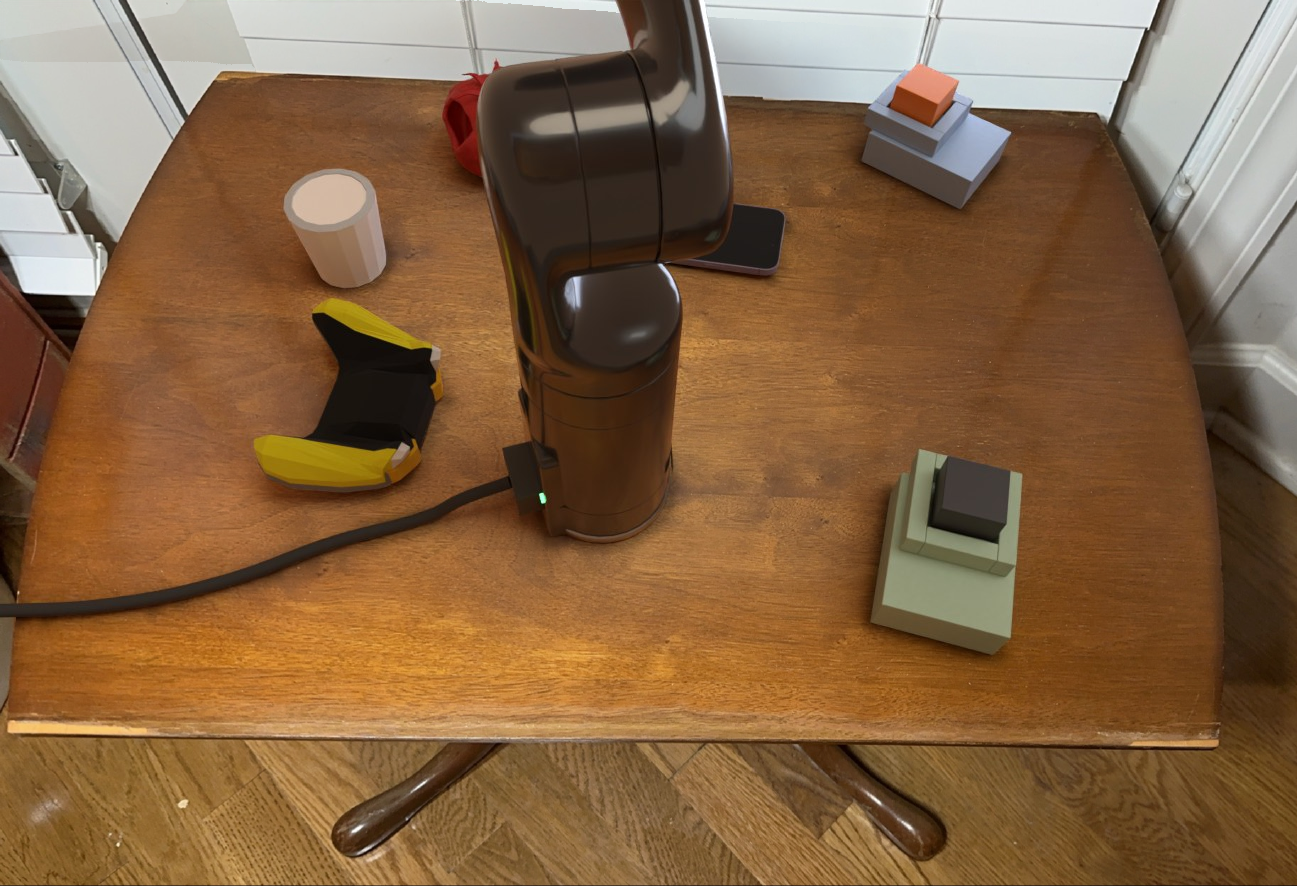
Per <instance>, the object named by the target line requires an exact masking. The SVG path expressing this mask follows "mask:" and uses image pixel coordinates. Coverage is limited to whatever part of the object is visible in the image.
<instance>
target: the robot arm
mask: <svg viewBox="0 0 1297 886" xmlns="http://www.w3.org/2000/svg"><path fill="white" fill-rule="evenodd" d="M614 1H615V4H616V7H617V9H618V12H619V14H620V16H621V17H620V18H621V21H622V23H623V26H624V29H625V33H626V36H627V40H628V41H627V42H628V44H629V49H626V50H617V51H616V50H615V51H609V52H600V53H592V54H585V55H577V56H569V57H560V58H555V59H545V60H539V61H537V60H536V61H529V62H521V63H515V64H510V65H505V66H501V68H498V69H496V70H495V71H493V70H492V71H493V72H492V71H491V72H490V73H491V74H490V73H489V74H490V75H489V76H488V77H487V78H486V80H485V82H484V84H483V86H482V88H481V92H480V95H479V98H478V103H477V111H476V134H477V145H478V156H479V163H480V169H481V174H482V177H481V178H482V182H483V183H482V184H483V187H484V192H485V197H486V201H487V205H488V206H487V207H488V209H489V214H490V218H491V222H492V227H493V230H494V234H495V239H496V242H497V243H496V244H497V248H498V251H499V256H500V260H501V264H502V269H503V273H504V278H505V284H506V285H505V286H506V291H507V298H508V304H509V305H508V306H509V311H510V312H509V314H510V322H511V328H512V329H511V330H512V337H513V344H514V350H515V356H516V357H515V358H516V362H517V369H518V376H519V381H520V388H519V389H518V390H517V397H518V403H519V409H520V415H521V416H520V417H521V421H522V428H523V434H524V442H519V443H516V444H512V445H508V446H504V447H502V455H503V459H504V464H505V465H504V466H505V469H506V472H507V475H506V476H504V477H501V478H498V479H494V480H492V481H489V482H486V483H482V484H479V485H477V486H474V487H472V488H469V489H465V490H464V491H461V492H459V493H457V494H454V495H452V496H450V497H449V498H447V499H446V500H444V501H442V502H441V503H439V504H437V505H434V506H433V507H430V508H427V509H425V510H422V511H419V512H416V513H413V514H410V515H406V516H403V517H399V518H395V519H392V520H388V521H384V522H380V523H379V522H378V523H375V524H371V525H367V526H363V527H359V528H355V529H352V530H351V529H350V530H347V531H343V532H340V533H337V534H334V535H330V536H327V537H323V538H321V539H319V540H316V541H313V542H309V543H307V544H304V545H302V546H299V547H296V548H294V549H292V550H288V551H286V552H284V553H281V554H278V555H276V556H273V557H270V558H268V559H266V560H263V561H260V562H258V563H255V564H253V565H249V566H246V567H243V568H240V569H237V570H234V571H230V572H227V573H223V574H220V575H217V576H212V577H209V578H206V579H202V580H198V581H194V582H190V583H186V584H182V585H178V586H177V585H176V586H173V587H169V588H164V589H163V588H162V589H158V590H153V591H146V592H142V593H141V592H140V593H134V594H128V595H121V596H114V597H106V598H96V599H88V600H86V599H85V600H75V601H72V600H71V601H57V602H22V603H21V602H19V603H18V602H17V603H15V602H13V603H0V618H1V619H2V618H38V617H64V616H65V617H66V616H80V615H91V614H101V613H110V612H117V611H124V610H131V609H138V608H143V607H145V608H146V607H150V606H155V605H161V604H166V603H170V602H176V601H179V600H184V599H188V598H192V597H193V598H194V597H197V596H201V595H204V594H208V593H212V592H216V591H220V590H223V589H228V588H230V587H233V586H237V585H239V584H240V585H241V584H242V583H243V584H244V583H246V582H249V581H252V580H255V579H258V578H260V577H263V576H266V575H268V574H271V573H274V572H276V571H279V570H281V569H284V568H286V567H289V566H292V565H293V564H296V563H298V562H299V563H300V562H301V561H304V560H307V559H310V558H312V557H314V556H318V555H321V554H323V553H326V552H329V551H332V550H335V549H338V548H342V547H345V546H348V545H352V544H357V543H359V542H363V541H367V540H371V539H376V538H380V537H384V536H389V535H391V534H396V533H399V532H403V531H407V530H411V529H413V528H417V527H419V526H423V525H426V524H429V523H431V522H434V521H436V520H437V521H438V520H439V519H442V518H443V517H445V516H447V515H449V514H451V513H452V512H453V511H455V510H457V509H459V508H461V507H464V506H466V505H468V504H471V503H473V502H476V501H479V500H481V499H485V498H487V497H490V496H493V495H496V494H500V493H503V492H505V491H508V490H512V495H513V498H514V502H515V505H516V509H517V512H518V516H524V515H527V514H528V515H529V514H532V513H535V512H541V511H542V514H543V518H544V521H545V526H546V528H547V532H548V535H549V536H550V537H558V536H561V535H568V536H570V537H572V538H574V539H577V540H580V541H584V542H590V543H597V544H598V543H601V544H603V543H604V544H605V543H615V542H620V541H623V540H626V539H630V538H631V537H633V536H636V535H637V534H639V533H641V532H642V531H645V530H646V529H647V528H648V527H649V526H651V524H652V523H654V522H655V520H656V519H657V518H658V517H659V515H660V514H661V512H662V511H663V509H664V507H665V505H666V502H667V499H668V497H669V496H668V495H669V490H670V469H671V474H673V471H674V458H673V444H672V441H673V429H674V420H675V419H674V417H675V408H676V407H675V404H676V395H677V394H676V393H677V383H678V374H679V373H678V371H679V364H680V363H679V362H680V351H681V341H682V340H681V339H682V331H683V320H684V315H683V314H684V313H683V309H684V308H683V299H682V296H681V292H680V289H679V286H678V284H677V282H676V279H675V278H674V277H673V274H672V273H671V272H670V270H669V269H668V268H667V267H666V266H665V265H664V264H668V263H669V262H675V261H681V260H687V259H692V258H697V257H700V256H704V255H707V254H710V253H712V252H714V251H715V250H717V249H718V248H719V247H720V246H721V244H722V243H723V241H724V240H725V238H726V236H727V233H728V231H729V227H730V222H731V217H732V212H733V203H734V196H735V195H734V194H735V193H734V189H735V188H734V187H735V183H734V182H735V180H734V163H733V153H732V145H731V137H730V130H729V129H730V128H729V123H728V117H727V111H726V105H725V100H724V94H723V90H722V88H723V87H722V84H721V78H720V71H719V68H718V67H719V66H718V63H717V56H716V51H715V47H714V42H713V37H712V33H711V27H710V23H709V17H708V12H707V7H706V2H705V0H614ZM669 264H670V263H669Z"/></svg>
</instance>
